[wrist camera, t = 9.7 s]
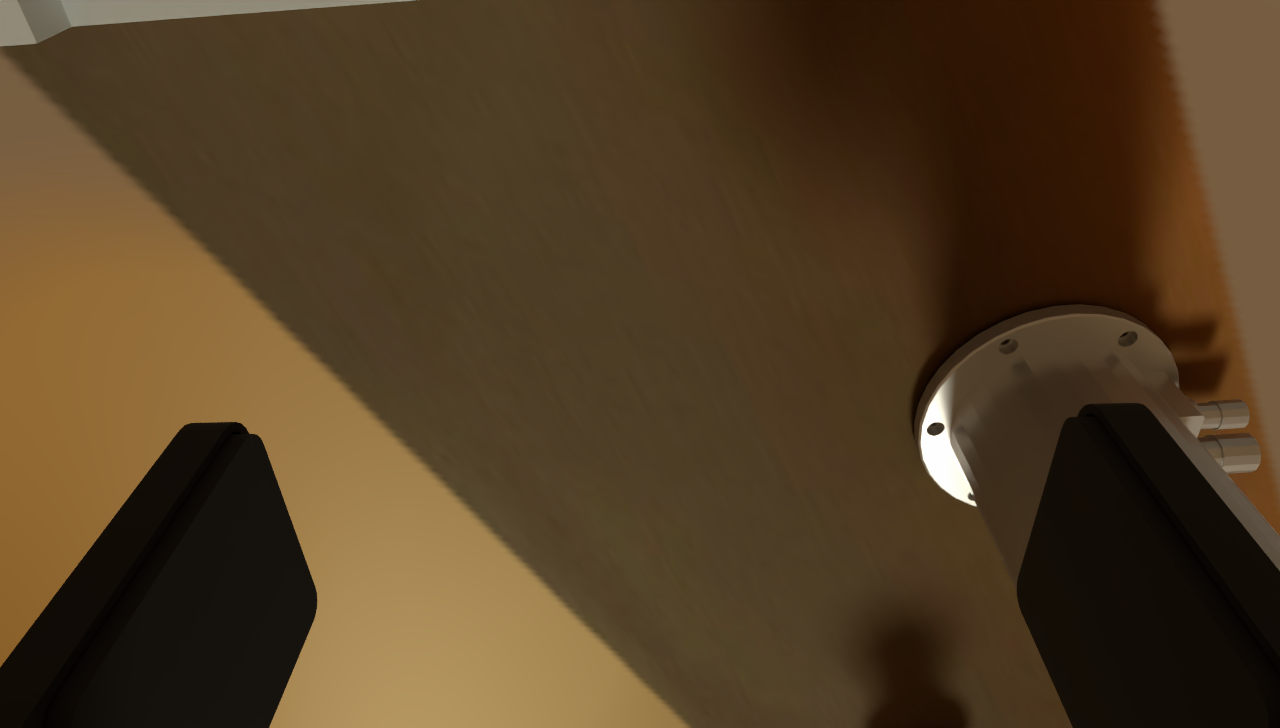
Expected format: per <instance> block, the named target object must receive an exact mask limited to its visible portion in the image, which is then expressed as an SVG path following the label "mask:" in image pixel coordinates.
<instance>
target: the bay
mask: <svg viewBox="0 0 1280 728" xmlns="http://www.w3.org/2000/svg"><path fill="white" fill-rule="evenodd" d="M400 1H413V0H0V46H11V45H24V44H37V43H39V42H41V41H43V40H45V39H47V38H49V37H51V36H54V35H56V34H58V33H60V32H62V31H64V30H66V29H68V28H70V27H73V26H86V25H99V24H112V23H125V22H138V21H151V20H164V19H177V18H190V17H203V16H216V15H230V14H243V13H256V12H269V11H282V10H295V9H308V8H321V7H334V6H347V5H360V4H373V3H387V2H400Z"/></svg>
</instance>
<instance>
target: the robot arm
mask: <svg viewBox="0 0 1280 728" xmlns="http://www.w3.org/2000/svg"><path fill="white" fill-rule="evenodd" d="M1249 418H1250V414H1249V409H1248V407H1247V405H1246V403H1245V402H1244V401H1242V400H1240V399H1236V400H1220V401H1210V402H1208V403H1195V401H1194V400H1192V399H1189V398H1187V397H1186V396H1185V395H1184V393H1183V392H1182V391H1181V390H1180V388H1179V374H1178V369H1177V366H1176V364H1175V361H1174V358H1173V356H1172V354H1171V352H1170V351H1169V350H1168V348H1167V347H1166V346H1165V344H1164V343H1163V342H1162V340H1161V339H1160V338H1159V337H1158V336H1157V335H1156V334H1155V333H1154V332H1153V331H1152V330H1151V329H1150V328H1149V327H1147V326H1146V325H1145V324H1144V323H1143V322H1141V321H1139V320H1137V319H1136V318H1134V317H1132V316H1130V315H1129V314H1127V313H1124V312H1120V311H1117V310H1114V309H1110V308H1107V307H1102V306H1092V305H1083V304H1077V305H1061V306H1052V307H1047V308H1043V309H1038V310H1033V311H1029V312H1026V313H1023V314H1020V315H1018V316H1015V317H1012V318H1010V319H1007V320H1004V321H1002V322H1000V323H998V324H996V325H994V326H992V327H991V328H989V329H987V330H985V331H983V332H981V333H979V334H978V335H976V336H975V337H974V338H972V339H971V340H970V341H968V342H967V343H966V344H964V345H963V346H962V347H960V348H959V349H957V350H956V351H955V352H954V353H953V354H952V355H951V356H950V357H949V358H948V359H947V360H946V361H945V362H944V363H943V364H942V365H941V366H940V368H939V369H938V370H937V372H936V373H935V375H934V376H933V377H932V379H931V380H930V382H929V383H928V385H927V386H926V388H925V390H924V393H923V395H922V397H921V399H920V401H919V404H918V407H917V412H916V416H915V421H914V436H915V443H916V447H917V450H918V453H919V456H920V458H921V461H922V463H923V465H924V467H925V469H926V471H927V473H928V475H929V476H930V477H931V478H932V479H933V481H934V482H935V483H936V484H937V485H938V487H940V488H941V489H942V490H944V491H945V492H946V493H948V494H949V495H951V496H952V497H953V498H956V499H958V500H960V501H962V502H964V503H966V504H969V505H973V506H977V507H978V509H979V512H980V514H981V516H982V518H983V520H984V522H985V524H986V526H987V528H988V531H989V533H990V535H991V537H992V539H993V541H994V543H995V545H996V547H997V550H998V552H999V554H1000V556H1001V558H1002V560H1003V562H1004V564H1005V567H1006V569H1007V571H1008V573H1009V575H1010V577H1011V579H1012V581H1013V583H1014V586H1015V588H1016V590H1017V598H1018V603H1019V607H1020V610H1021V612H1022V615H1023V617H1024V619H1025V621H1026V624H1027V626H1028V628H1029V630H1030V632H1031V635H1032V637H1033V639H1034V641H1035V644H1036V646H1037V648H1038V650H1039V653H1040V655H1041V657H1042V659H1043V662H1044V664H1045V666H1046V668H1047V670H1048V673H1049V675H1050V677H1051V679H1052V682H1053V684H1054V686H1055V688H1056V691H1057V693H1058V695H1059V697H1060V700H1061V702H1062V704H1063V706H1064V708H1065V711H1066V713H1067V715H1068V717H1069V720H1070V722H1071V724H1072V726H1073V728H1280V536H1279V535H1278V534H1277V532H1276V531H1275V530H1274V529H1273V528H1272V527H1271V525H1270V524H1269V523H1268V522H1267V521H1266V519H1265V518H1264V517H1263V516H1262V515H1261V514H1260V512H1259V511H1258V510H1257V509H1256V508H1255V506H1254V505H1253V504H1252V503H1251V502H1250V500H1249V499H1248V498H1247V497H1246V496H1245V495H1244V493H1243V492H1242V491H1241V490H1240V489H1239V487H1238V486H1237V485H1236V484H1235V483H1234V482H1233V480H1232V479H1231V478H1230V477H1229V476H1228V473H1244V472H1252V471H1255V470H1256V469H1257V468H1258V466H1259V465H1260V461H1261V452H1260V447H1259V444H1258V443H1257V441H1256V439H1255V438H1254V437H1253V436H1252V435H1250V434H1249V433H1239V434H1222V435H1206V436H1205V437H1203V438H1197V436H1198V434H1199V431H1200V429H1210V428H1212V429H1213V430H1216V429H1233V428H1244V427H1245V426H1246V425H1247V424H1248V423H1249ZM316 609H317V592H316V588H315V585H314V582H313V580H312V577H311V575H310V571H309V569H308V566H307V563H306V561H305V558H304V555H303V552H302V549H301V546H300V543H299V541H298V538H297V535H296V532H295V530H294V527H293V524H292V521H291V519H290V516H289V513H288V510H287V508H286V505H285V502H284V499H283V496H282V494H281V491H280V488H279V485H278V482H277V480H276V477H275V474H274V471H273V469H272V466H271V463H270V460H269V458H268V455H267V452H266V449H265V446H264V444H263V442H262V440H261V438H260V437H259V436H258V435H255V434H249V433H248V431H247V429H246V428H245V427H244V426H243V425H242V424H241V423H237V422H224V423H223V422H219V423H190V424H187V425H185V426H184V427H183V428H182V429H181V430H179V432H178V433H177V434H176V436H175V437H174V438H173V440H172V441H171V442H170V444H169V445H168V446H167V448H166V449H165V450H164V451H163V453H162V454H161V455H160V457H159V458H158V460H157V461H156V462H155V464H154V465H153V466H152V467H151V469H150V470H149V471H148V473H147V474H146V475H145V477H144V478H143V479H142V481H141V482H140V483H139V485H138V486H137V487H136V489H135V490H134V491H133V493H132V494H131V495H130V497H129V498H128V499H127V501H126V502H125V503H124V504H123V506H122V507H121V508H120V510H119V511H118V512H117V514H116V515H115V516H114V518H113V519H112V520H111V522H110V523H109V524H108V526H107V527H106V528H105V530H104V531H103V532H102V534H101V535H100V536H99V538H98V539H97V540H96V542H95V543H94V544H93V546H92V547H91V548H90V550H89V551H88V552H87V554H86V555H85V556H84V557H83V559H82V560H81V561H80V563H79V564H78V566H77V567H76V568H75V569H74V571H73V572H72V573H71V575H70V576H69V577H68V579H67V580H66V581H65V583H64V584H63V585H62V587H61V588H60V589H59V591H58V592H57V593H56V594H55V596H54V597H53V598H52V600H51V601H50V602H49V604H48V605H47V606H46V608H45V609H44V611H43V612H42V613H41V614H40V616H39V617H38V618H37V620H36V621H35V622H34V624H33V625H32V626H31V628H30V629H29V630H28V632H27V633H26V634H25V636H24V637H23V638H22V639H21V641H20V642H19V643H18V645H17V646H16V647H15V649H14V650H13V651H12V653H11V654H10V655H9V657H8V658H7V659H6V661H5V662H4V663H3V665H2V666H1V667H0V728H269V726H270V724H271V721H272V719H273V717H274V714H275V712H276V710H277V707H278V705H279V702H280V700H281V698H282V695H283V693H284V690H285V688H286V685H287V683H288V681H289V678H290V676H291V674H292V671H293V669H294V666H295V664H296V662H297V659H298V657H299V654H300V652H301V650H302V647H303V645H304V643H305V640H306V637H307V635H308V633H309V631H310V628H311V626H312V623H313V621H314V618H315V614H316Z"/></svg>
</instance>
